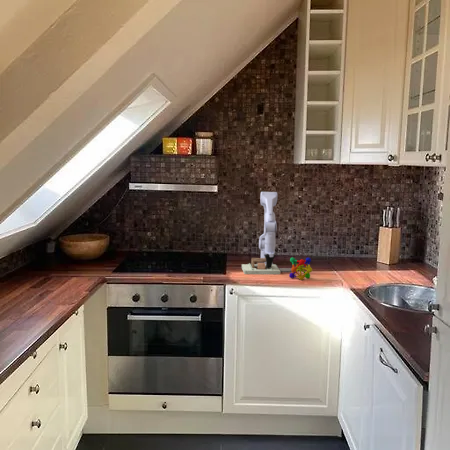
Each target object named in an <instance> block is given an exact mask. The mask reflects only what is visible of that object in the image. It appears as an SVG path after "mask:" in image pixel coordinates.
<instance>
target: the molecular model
mask: <svg viewBox="0 0 450 450" xmlns="http://www.w3.org/2000/svg"><path fill="white" fill-rule="evenodd" d="M289 262H290V263H292V267H291V271H292V272H289V278H290V279H294V278H298V280H300V281H304V279H309V278H311V273H312V272H313V268H312V267H311V262H312V258H311V257H306V258H305V260H304V259H302V258H301V259H300V260H298V259H296V258H295V257H293V256H292V257H290V259H289ZM295 265H296V266H295ZM305 270H306V271H305ZM298 271H299V272H298ZM302 273H303V274H302Z"/></svg>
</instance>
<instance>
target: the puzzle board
mask: <svg viewBox="0 0 450 450" xmlns="http://www.w3.org/2000/svg"><path fill="white" fill-rule="evenodd" d="M279 268H280V267H278V265H277V264H274V265H272V266H271V268H268V267H267V266H266V264H265V270H261V269H257V263H256V264H255V263H254V268H253V267H252V266H251V263H250V262H249V263H247V264H243V263H242V264H241V269H242V272H243V274H244V275H281V271H280V270H279Z"/></svg>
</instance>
